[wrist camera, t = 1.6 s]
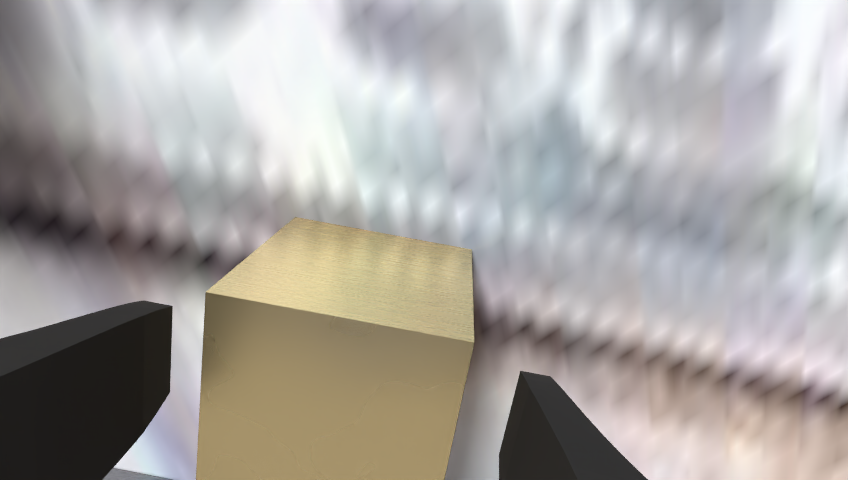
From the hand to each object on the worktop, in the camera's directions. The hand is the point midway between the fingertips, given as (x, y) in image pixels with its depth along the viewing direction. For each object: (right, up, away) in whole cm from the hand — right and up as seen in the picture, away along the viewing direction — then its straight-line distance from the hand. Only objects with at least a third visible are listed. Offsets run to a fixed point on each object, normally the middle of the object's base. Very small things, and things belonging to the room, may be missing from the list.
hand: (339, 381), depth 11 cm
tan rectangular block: (0, +1, +3) cm, 4 cm away
